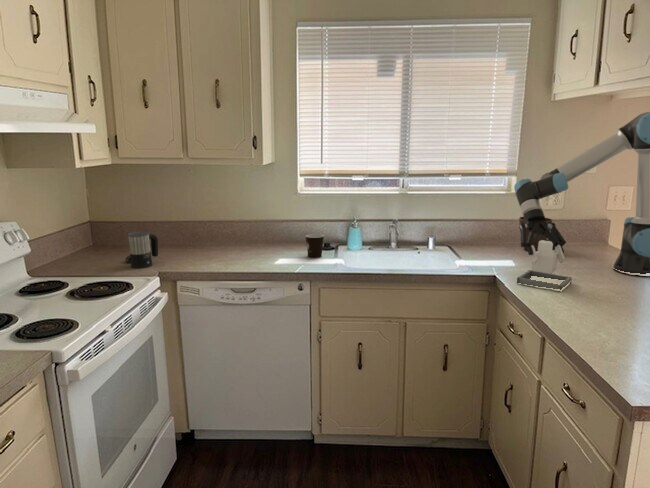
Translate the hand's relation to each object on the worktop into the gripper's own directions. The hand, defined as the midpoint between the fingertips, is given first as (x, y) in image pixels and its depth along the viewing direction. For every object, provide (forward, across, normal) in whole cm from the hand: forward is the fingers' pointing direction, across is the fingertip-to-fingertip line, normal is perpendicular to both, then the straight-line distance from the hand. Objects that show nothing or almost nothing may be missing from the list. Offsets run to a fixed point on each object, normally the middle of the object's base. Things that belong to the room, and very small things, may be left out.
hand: (549, 261), depth 184 cm
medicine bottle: (+1, 0, -6) cm, 6 cm away
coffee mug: (-32, +85, -47) cm, 102 cm away
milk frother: (-26, +166, -42) cm, 173 cm away
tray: (+5, 0, -9) cm, 10 cm away
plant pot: (-32, -23, -46) cm, 61 cm away
